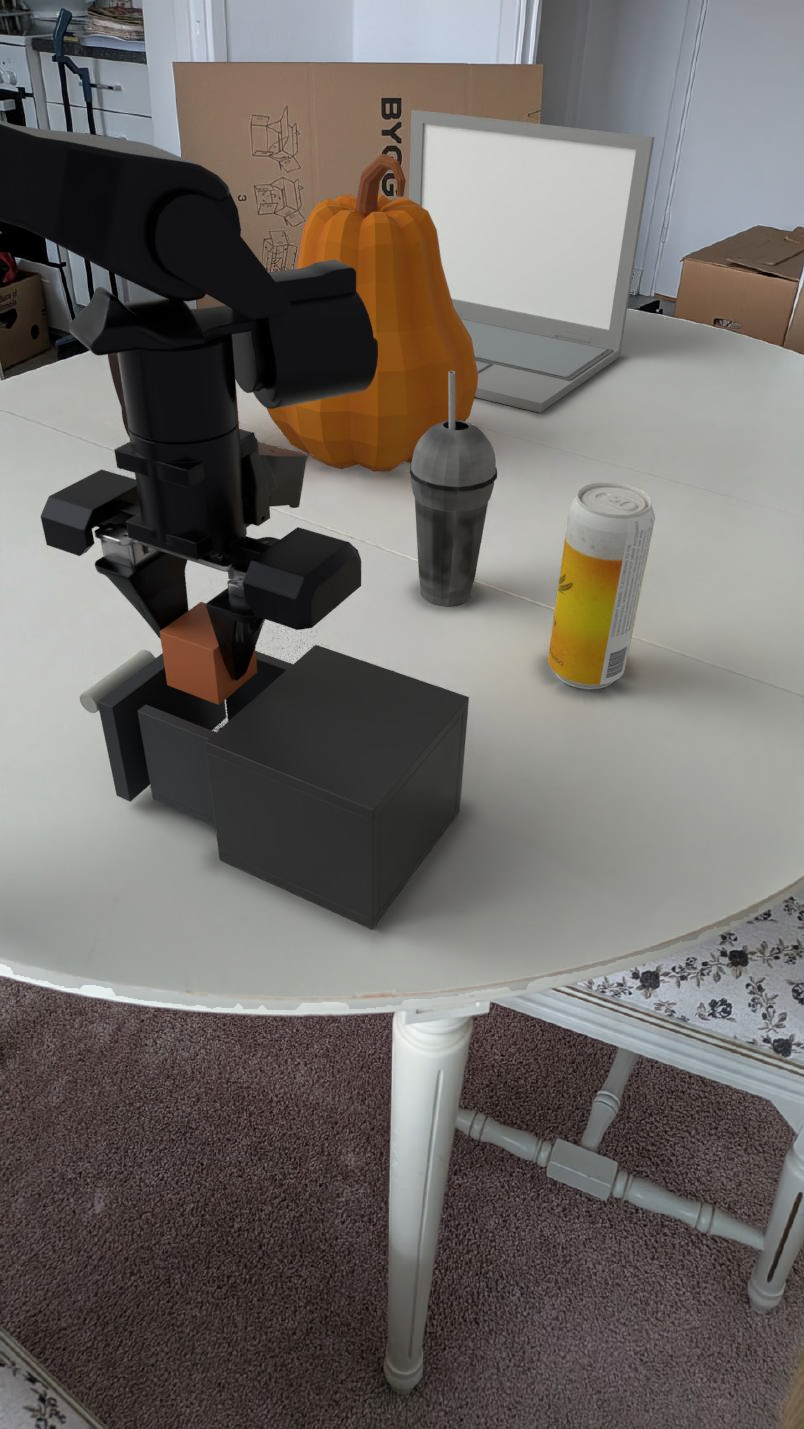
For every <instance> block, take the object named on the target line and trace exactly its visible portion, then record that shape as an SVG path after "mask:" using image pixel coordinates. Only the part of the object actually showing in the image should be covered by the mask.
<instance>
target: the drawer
mask: <svg viewBox="0 0 804 1429" xmlns="http://www.w3.org/2000/svg"><path fill="white" fill-rule="evenodd" d="M256 662H257V673H256V674H255V675H254V676H252V677H251V678H250V679H249V680H248V681H247V682H245V683H244V684H243V685H242V686H241V687H240V688H238V689H237V690H236V691H235V692H234V693H233V694H231V695H230V696H229V697H228V698H227V699H226V700H224V701H223V702H222V703H221V704H220V705H218V704H215V703H212V702H210V701H207V700H205V699H202V698H199V697H197V696H194V695H192V694H189V693H186V692H184V691H181V690H179V689H176V688H173V687H171V686H168V685H167V679H166V672H165V665H164V658H163V652H162V653H160V654H159V655H158V656H156V657H155V655H154V654H153V653H152V652H151V651H149V650H147V649H142V650H140V651H139V652H137V653H135V655H133V656H132V657H130V658H129V659H127V660H126V661H125V662H124V663H122V664H120V665H119V666H118V667H117V668H115V669H114V670H112V671H111V672H109V673H108V674H107V675H105V676H104V677H103V678H101V679H100V680H99V681H97V682H96V683H95V684H93V685H92V686H90V687H89V688H87V689H86V690H85V691H83V692H82V693H81V694H80V696H79V702H80V704H81V706H82V707H83V709H84V710H85V711H87V712H88V713H91V714H95V713H97V712H99V717H100V721H101V726H102V731H103V736H104V740H105V745H106V751H107V755H108V760H109V765H110V771H111V775H112V781H113V786H114V791H115V794H116V796H117V797H118V798H121V799H122V800H125V801H127V802H129V803H131V802H132V801H133V800H134V799H135V798H137V797H138V796H139V795H141V793H143V792H144V791H145V790H146V789H147V788H148V787H149V786H150V790H151V796H152V799H153V800H154V801H156V802H159V803H161V804H162V805H165V806H168V807H169V808H172V809H175V810H177V811H179V812H181V813H183V814H186V815H188V816H190V817H192V818H195V819H196V820H200V821H202V822H203V823H206V824H208V825H211V826H212V827H215V828H216V826H215V818H214V810H213V802H212V794H211V786H210V778H209V770H208V762H207V752H206V746H205V742H206V741H207V740H208V739H209V738H210V737H211V736H213V735H214V734H215V733H216V732H217V731H214V729H216V727H218V726H219V725H220V724H221V723H222V722H224V720H226V719H227V722H228V721H230V720H231V719H232V718H233V717H234V716H235V715H236V714H238V713H239V712H240V711H241V710H242V709H243V708H244V707H245V706H247V705H248V704H249V703H250V702H251V701H252V700H253V699H254V698H256V697H257V696H258V695H259V694H260V693H261V692H262V691H264V690H265V689H266V688H267V687H268V686H269V685H270V684H271V683H273V682H274V681H275V680H276V679H277V678H278V677H279V676H281V675H282V674H283V673H284V672H285V671H286V670H287V669H288V668H290V667H291V666H292V665H293V664H294V663H292V662H288V661H286V660H282V659H280V658H277V657H274V656H271V655H268V654H265V653H263V652H260V651H257V650H256Z"/></svg>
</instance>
